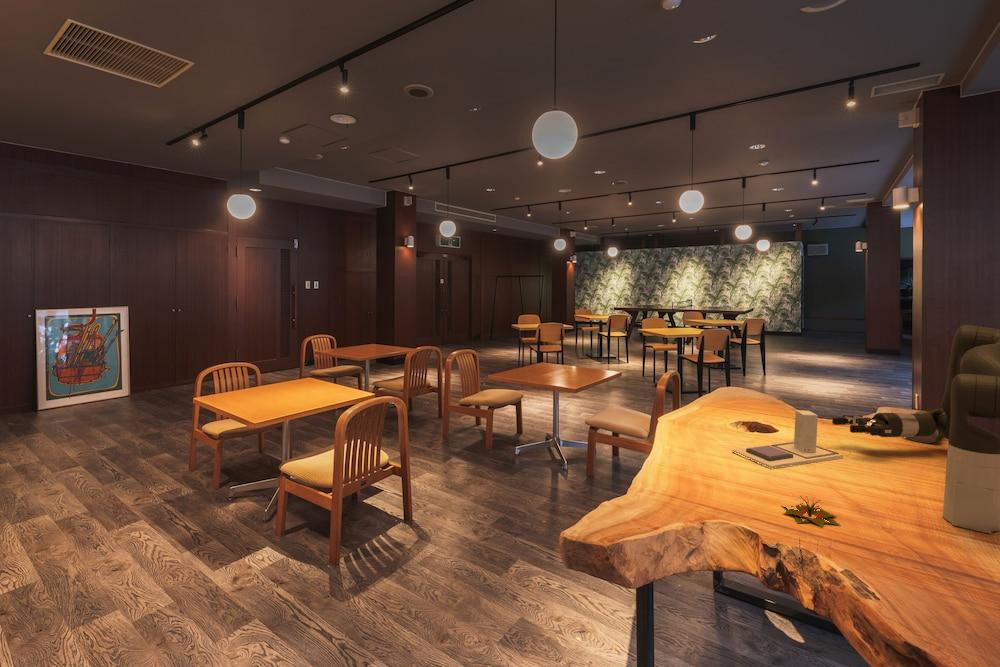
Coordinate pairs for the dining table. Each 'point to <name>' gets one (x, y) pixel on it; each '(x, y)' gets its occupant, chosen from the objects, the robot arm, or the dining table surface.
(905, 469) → the dining table surface
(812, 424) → the skincare box
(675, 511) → the dining table surface
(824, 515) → the green leafy piece
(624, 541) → the dining table surface
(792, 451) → the board
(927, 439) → the coffee jar
